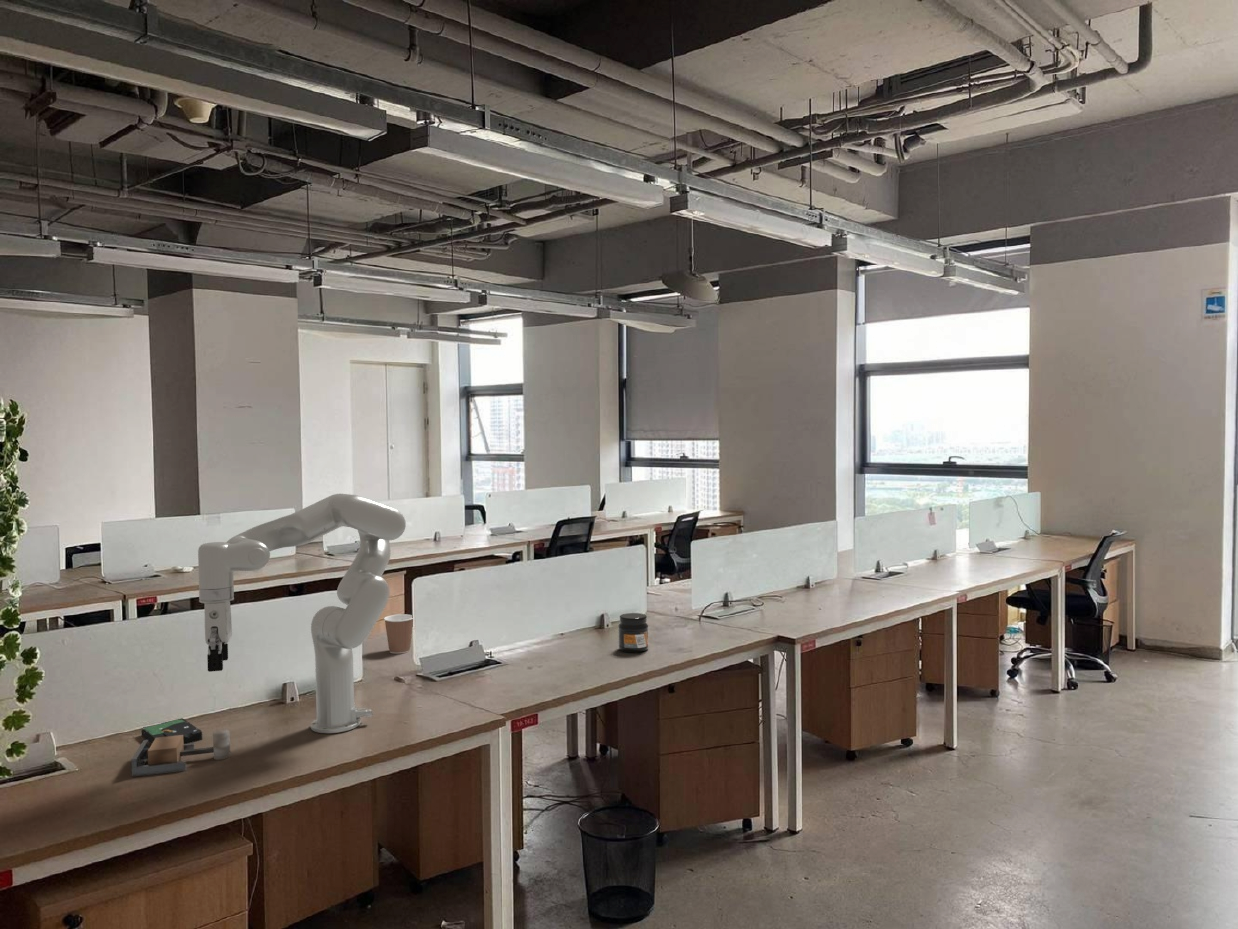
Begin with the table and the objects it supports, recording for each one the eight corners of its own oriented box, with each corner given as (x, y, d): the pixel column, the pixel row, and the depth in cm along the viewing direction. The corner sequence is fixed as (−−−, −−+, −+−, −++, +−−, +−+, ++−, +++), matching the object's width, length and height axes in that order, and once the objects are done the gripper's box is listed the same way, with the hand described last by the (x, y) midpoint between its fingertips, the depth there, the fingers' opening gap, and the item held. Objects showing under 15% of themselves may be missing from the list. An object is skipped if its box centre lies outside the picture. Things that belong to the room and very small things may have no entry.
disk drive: (203, 742, 224) (182, 727, 234) (203, 731, 224) (182, 717, 234) (159, 753, 216) (140, 737, 227) (159, 741, 216) (139, 726, 227)
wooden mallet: (232, 749, 216) (231, 725, 216) (227, 762, 208) (226, 737, 207) (156, 758, 211) (155, 733, 211) (148, 772, 203) (147, 746, 202)
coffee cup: (406, 646, 317) (406, 613, 316) (420, 651, 309) (419, 617, 308) (379, 651, 310) (378, 617, 309) (392, 656, 302) (391, 622, 302)
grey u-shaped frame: (194, 751, 215) (193, 735, 215) (185, 770, 203) (184, 753, 203) (144, 756, 212) (143, 740, 212) (132, 777, 200) (131, 759, 200)
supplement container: (645, 654, 302) (644, 619, 301) (615, 652, 304) (614, 618, 304) (651, 646, 312) (650, 613, 311) (622, 645, 314) (621, 612, 314)
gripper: (229, 600, 202) (230, 673, 203) (237, 587, 219) (239, 655, 220) (193, 602, 200) (195, 676, 201) (204, 589, 217) (206, 658, 217)
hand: (218, 665), depth 210 cm, fingers open, 9 cm apart
